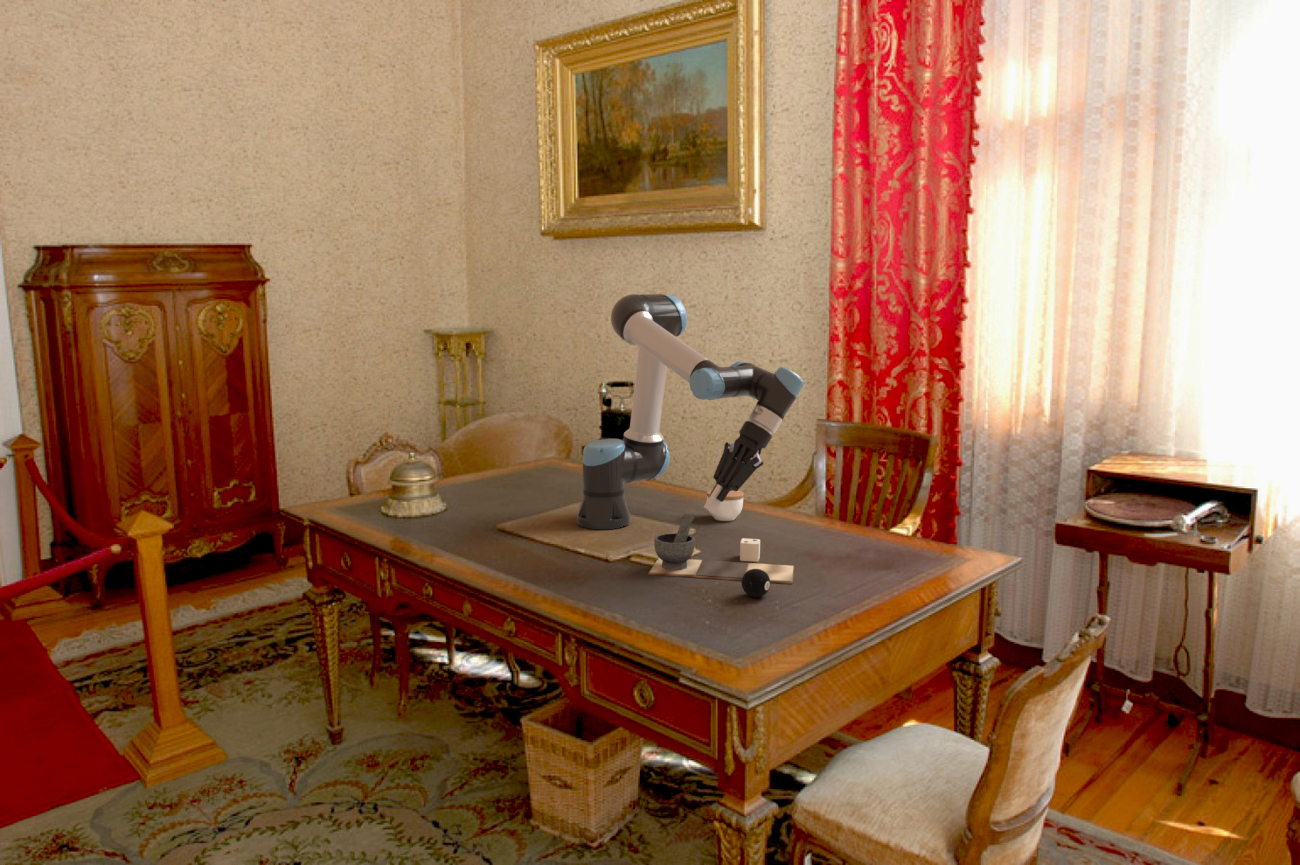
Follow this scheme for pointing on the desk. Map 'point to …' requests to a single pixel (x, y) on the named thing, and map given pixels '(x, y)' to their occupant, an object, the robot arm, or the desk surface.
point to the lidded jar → (728, 506)
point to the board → (726, 570)
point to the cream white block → (750, 550)
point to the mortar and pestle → (676, 546)
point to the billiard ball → (755, 583)
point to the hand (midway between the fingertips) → (708, 510)
